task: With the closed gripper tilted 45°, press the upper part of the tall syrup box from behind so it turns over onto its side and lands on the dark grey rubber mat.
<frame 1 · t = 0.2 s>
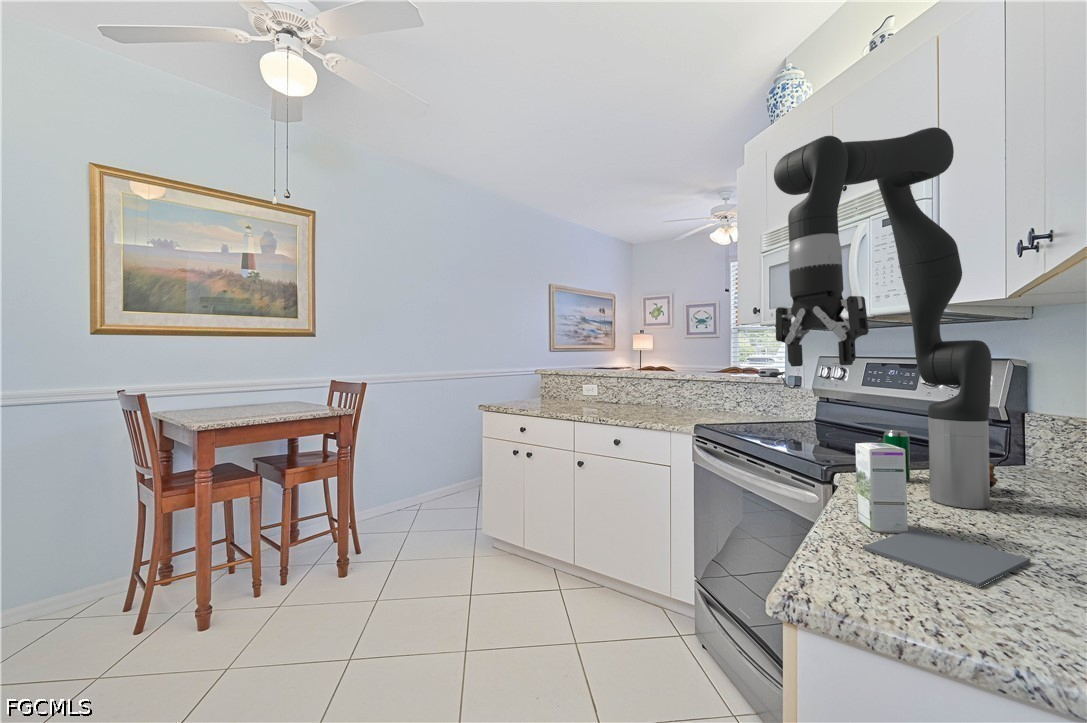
hand: (820, 365, 76), 29 cm above the counter, tool pointing down, fingers open, 8 cm apart
soda can: (896, 480, 114), on the counter
mat: (943, 555, 70), on the counter
dragon fruit: (970, 491, 104), on the counter
syrup box: (881, 528, 82), on the counter
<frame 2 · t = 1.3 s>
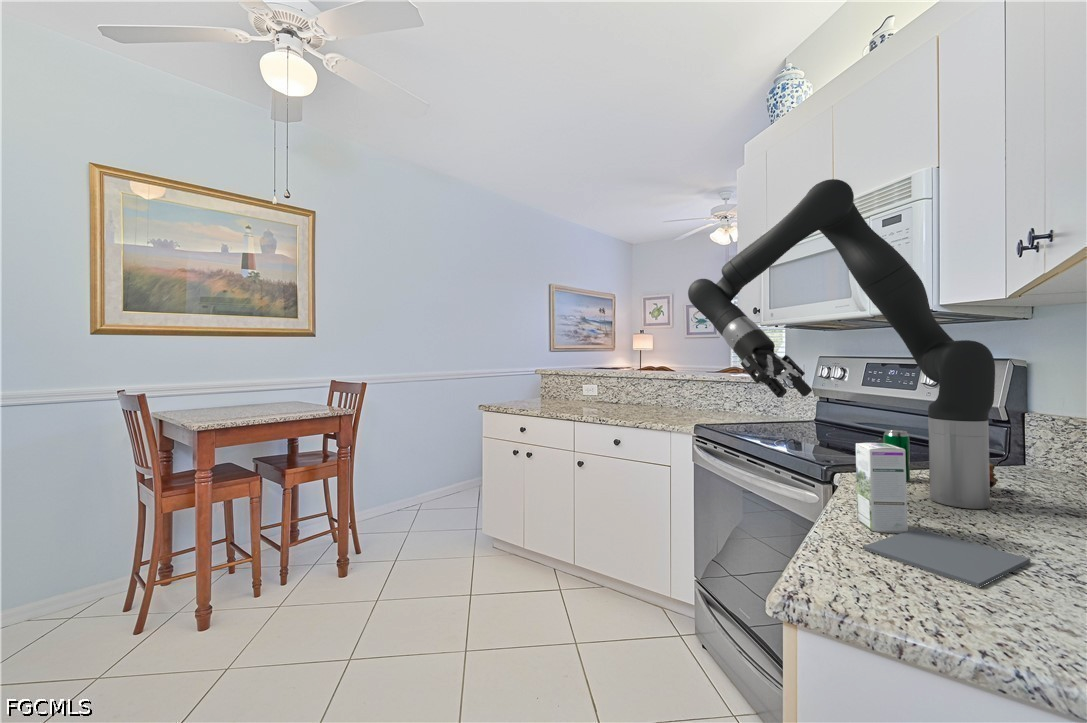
hand: (795, 394, 95), 23 cm above the counter, tool tilted 45°, fingers open, 7 cm apart
nothing on the counter moved.
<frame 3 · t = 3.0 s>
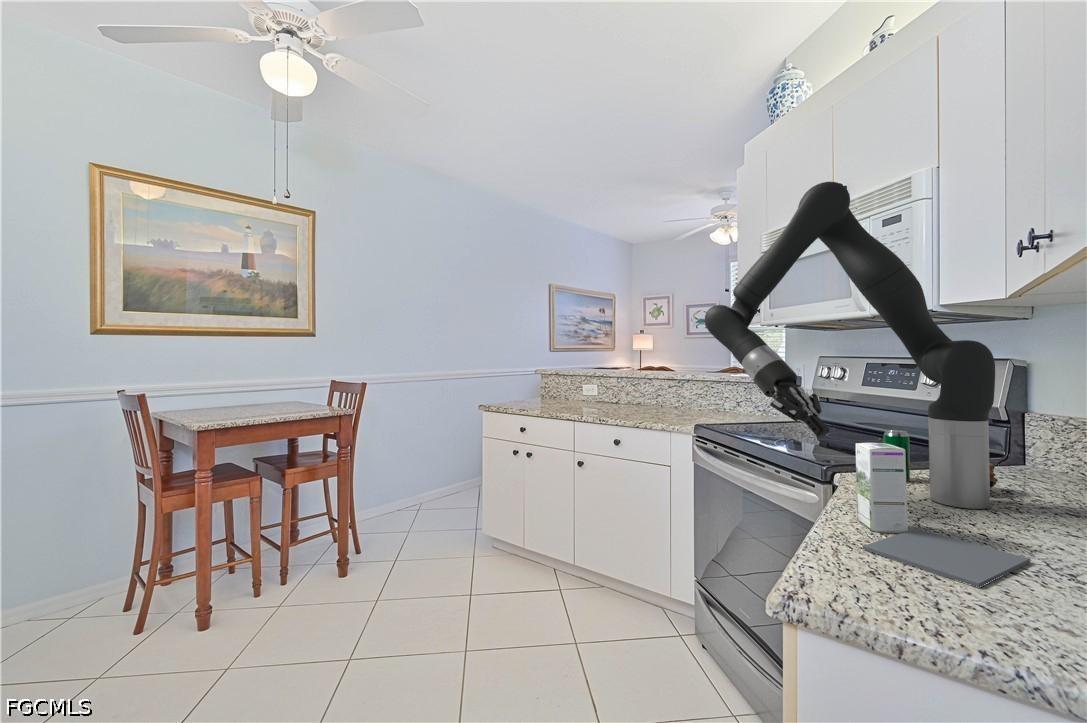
hand: (824, 434, 90), 15 cm above the counter, tool tilted 45°, fingers closed
nothing on the counter moved.
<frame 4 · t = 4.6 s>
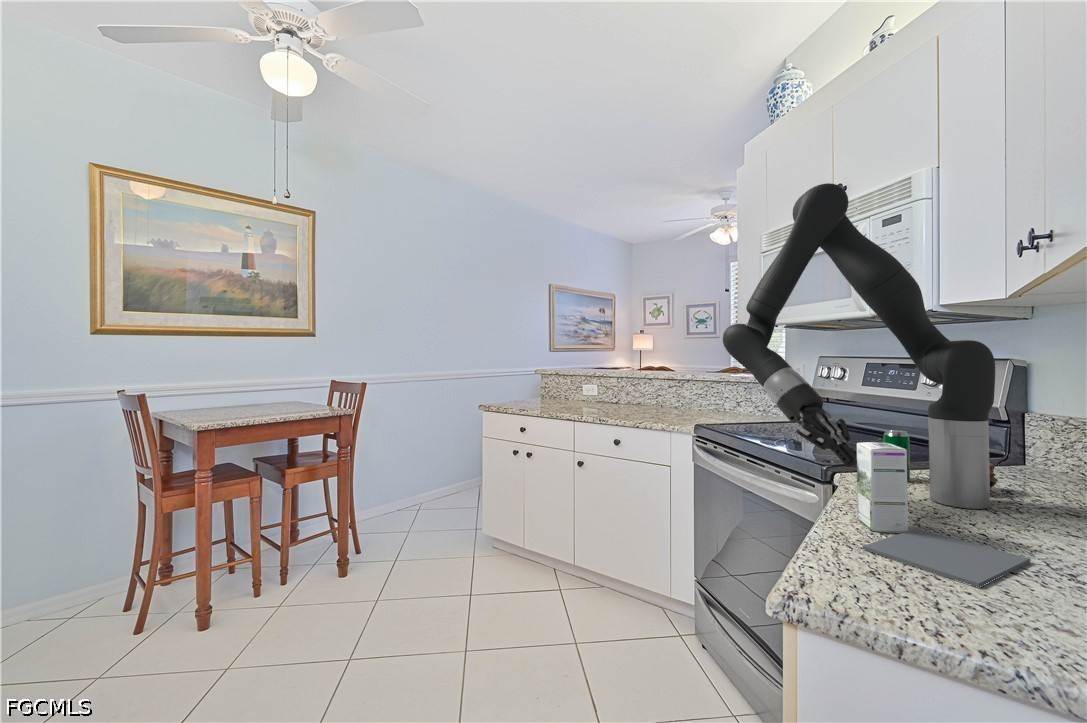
hand: (854, 464, 85), 10 cm above the counter, tool tilted 45°, fingers closed
syrup box: (881, 527, 82), on the counter, touching gripper
everything else where it was.
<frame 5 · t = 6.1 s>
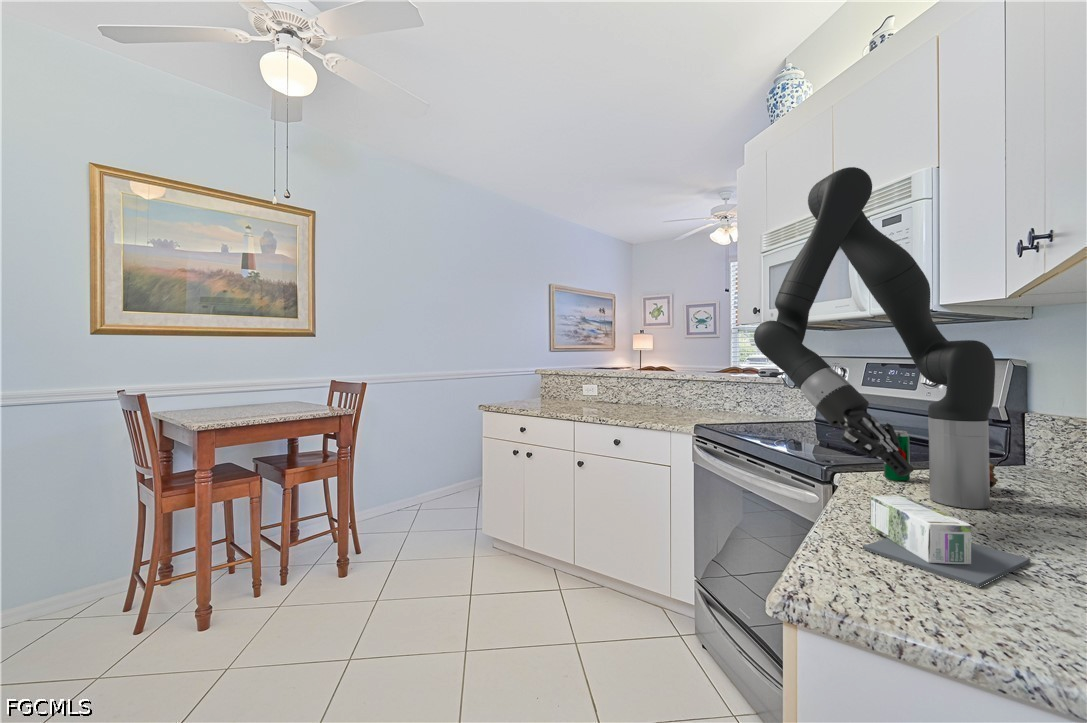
hand: (907, 473, 78), 10 cm above the counter, tool tilted 45°, fingers closed
syrup box: (885, 511, 80), point 3 cm above the counter, touching mat
everything else where it was.
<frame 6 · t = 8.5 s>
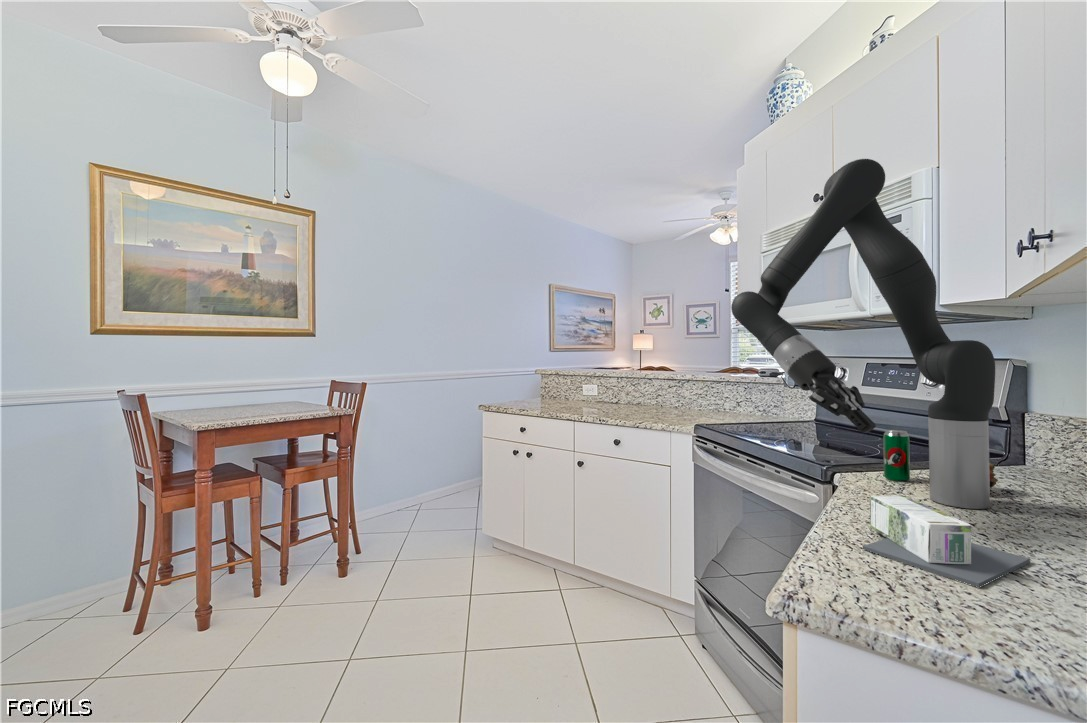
hand: (870, 429, 83), 17 cm above the counter, tool tilted 45°, fingers closed
nothing on the counter moved.
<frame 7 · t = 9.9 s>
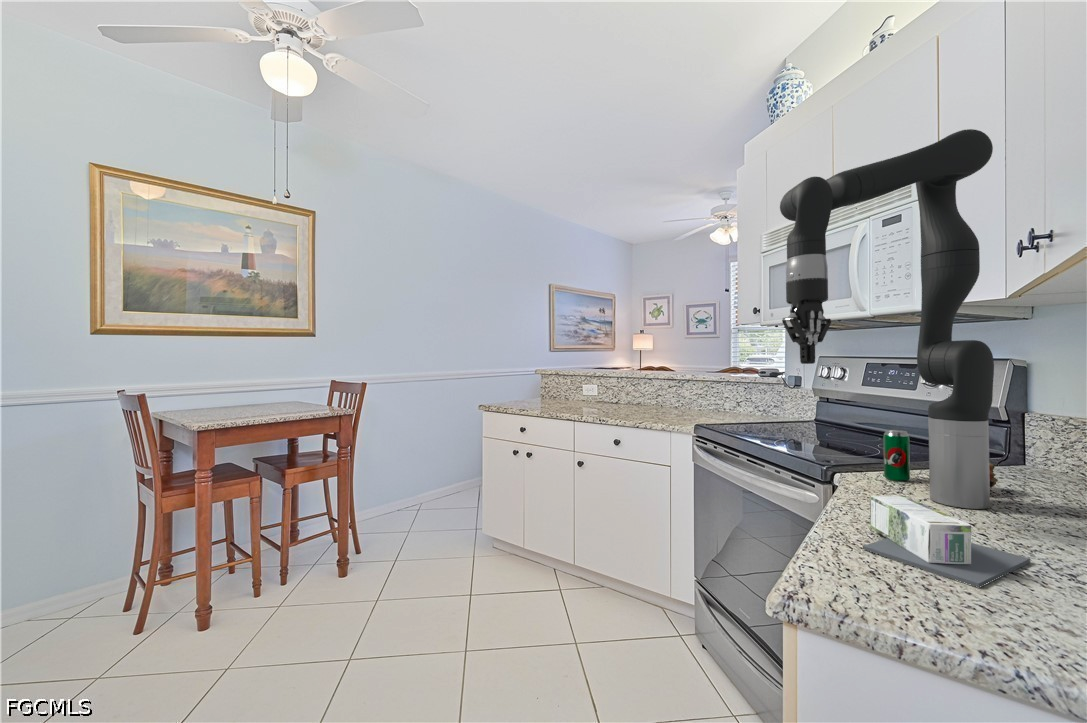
hand: (807, 363, 95), 29 cm above the counter, tool pointing down, fingers closed
nothing on the counter moved.
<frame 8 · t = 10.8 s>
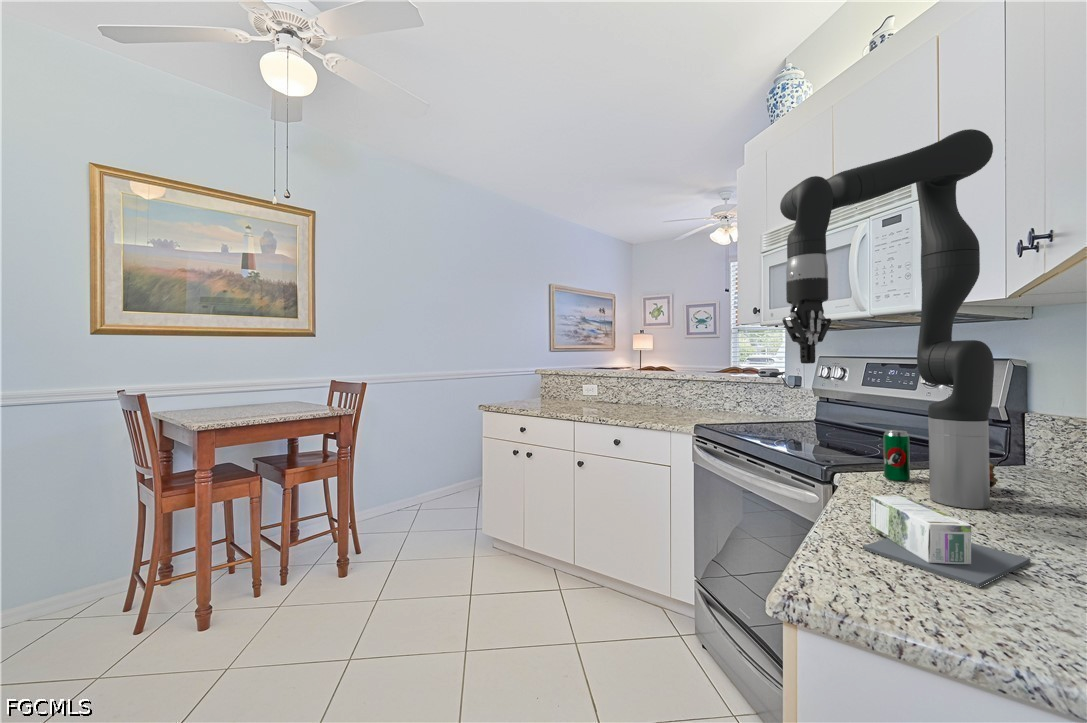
hand: (807, 363, 95), 29 cm above the counter, tool pointing down, fingers closed
nothing on the counter moved.
at the end: syrup box tilted 90°; syrup box touching mat; syrup box inside the target area (2.7 cm from its centre), point 3.4 cm above the counter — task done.
